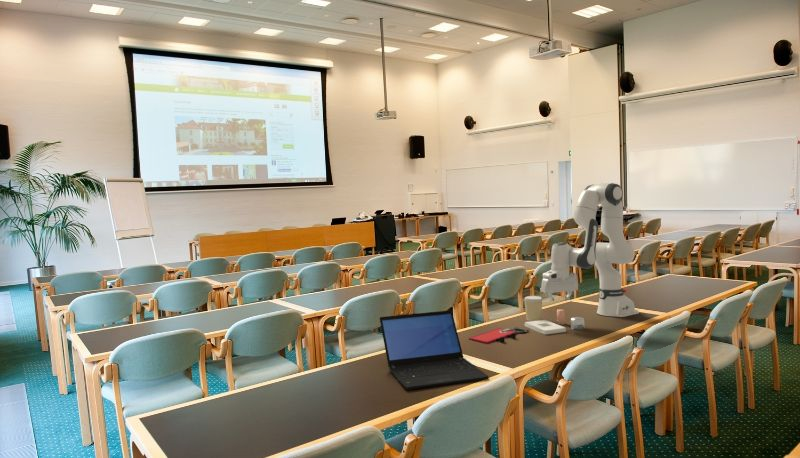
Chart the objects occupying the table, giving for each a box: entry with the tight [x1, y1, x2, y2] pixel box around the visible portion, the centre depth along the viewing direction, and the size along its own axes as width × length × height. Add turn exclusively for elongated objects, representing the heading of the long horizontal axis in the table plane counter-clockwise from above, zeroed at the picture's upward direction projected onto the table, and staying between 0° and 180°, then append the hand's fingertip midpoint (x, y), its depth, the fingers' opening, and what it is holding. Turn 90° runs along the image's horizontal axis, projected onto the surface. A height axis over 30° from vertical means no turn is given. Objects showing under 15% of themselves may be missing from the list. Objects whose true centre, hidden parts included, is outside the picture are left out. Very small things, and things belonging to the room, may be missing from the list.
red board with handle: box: [468, 327, 530, 345], centre depth 264 cm, size 30×3×15 cm
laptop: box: [379, 310, 490, 391], centre depth 219 cm, size 33×38×19 cm
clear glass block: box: [570, 316, 585, 331], centre depth 273 cm, size 6×6×5 cm
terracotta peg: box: [556, 308, 566, 326], centre depth 282 cm, size 4×4×7 cm
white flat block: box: [524, 319, 567, 336], centre depth 274 cm, size 12×18×2 cm, turn 18°
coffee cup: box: [524, 295, 543, 322], centre depth 292 cm, size 9×9×12 cm
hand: (559, 300), depth 281 cm, fingers open, 8 cm apart
